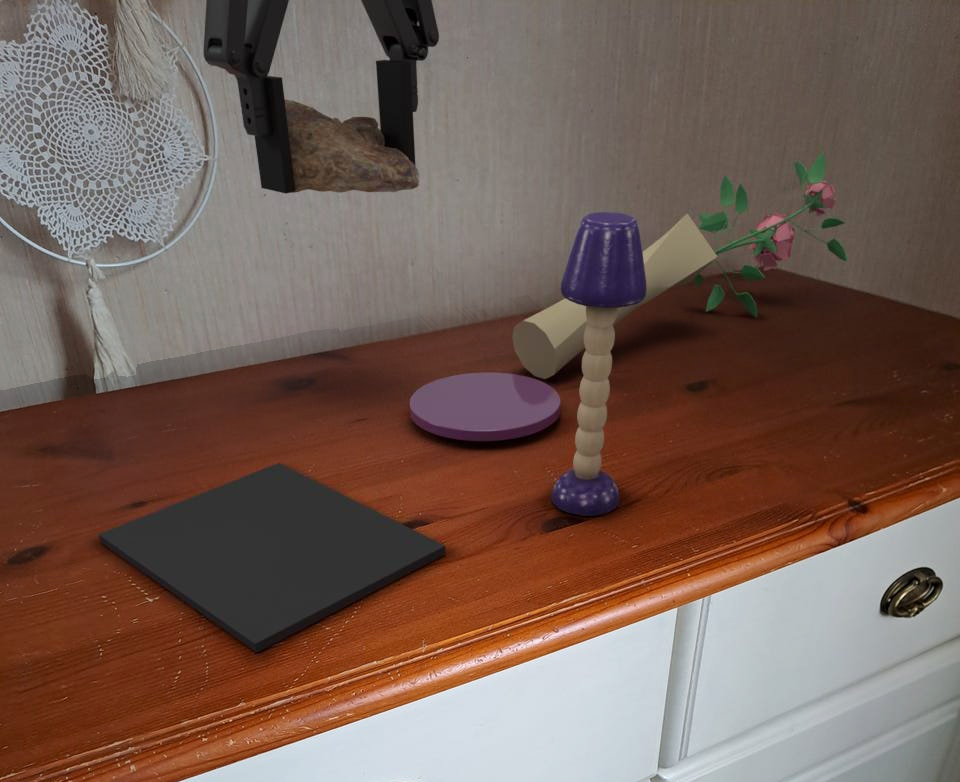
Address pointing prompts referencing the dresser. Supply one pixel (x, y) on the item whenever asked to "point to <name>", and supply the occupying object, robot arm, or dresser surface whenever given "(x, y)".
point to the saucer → (485, 406)
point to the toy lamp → (598, 346)
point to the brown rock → (344, 154)
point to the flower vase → (679, 270)
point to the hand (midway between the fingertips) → (341, 177)
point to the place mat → (270, 552)
